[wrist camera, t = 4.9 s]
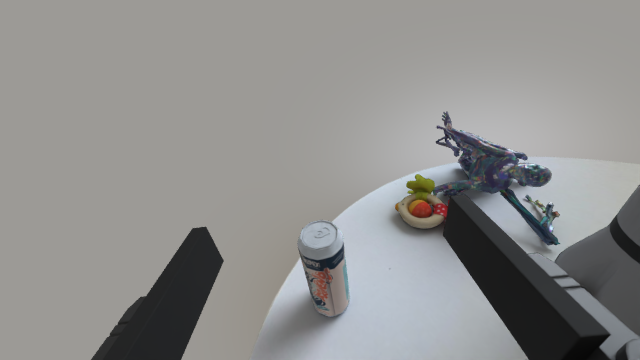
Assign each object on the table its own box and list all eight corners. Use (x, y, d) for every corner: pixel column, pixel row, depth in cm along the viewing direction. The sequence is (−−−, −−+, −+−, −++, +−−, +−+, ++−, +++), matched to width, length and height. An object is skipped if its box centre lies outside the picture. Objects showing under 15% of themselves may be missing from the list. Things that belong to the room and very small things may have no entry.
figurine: (427, 224, 45) (462, 175, 53) (559, 252, 30) (579, 178, 38) (396, 134, 38) (441, 93, 46) (550, 113, 23) (576, 59, 31)
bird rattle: (385, 209, 44) (423, 187, 45) (428, 257, 36) (472, 229, 38) (385, 189, 39) (427, 166, 40) (433, 240, 32) (483, 209, 33)
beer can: (307, 294, 30) (288, 229, 24) (336, 276, 32) (327, 211, 26) (325, 327, 27) (308, 261, 20) (357, 304, 28) (352, 237, 22)
